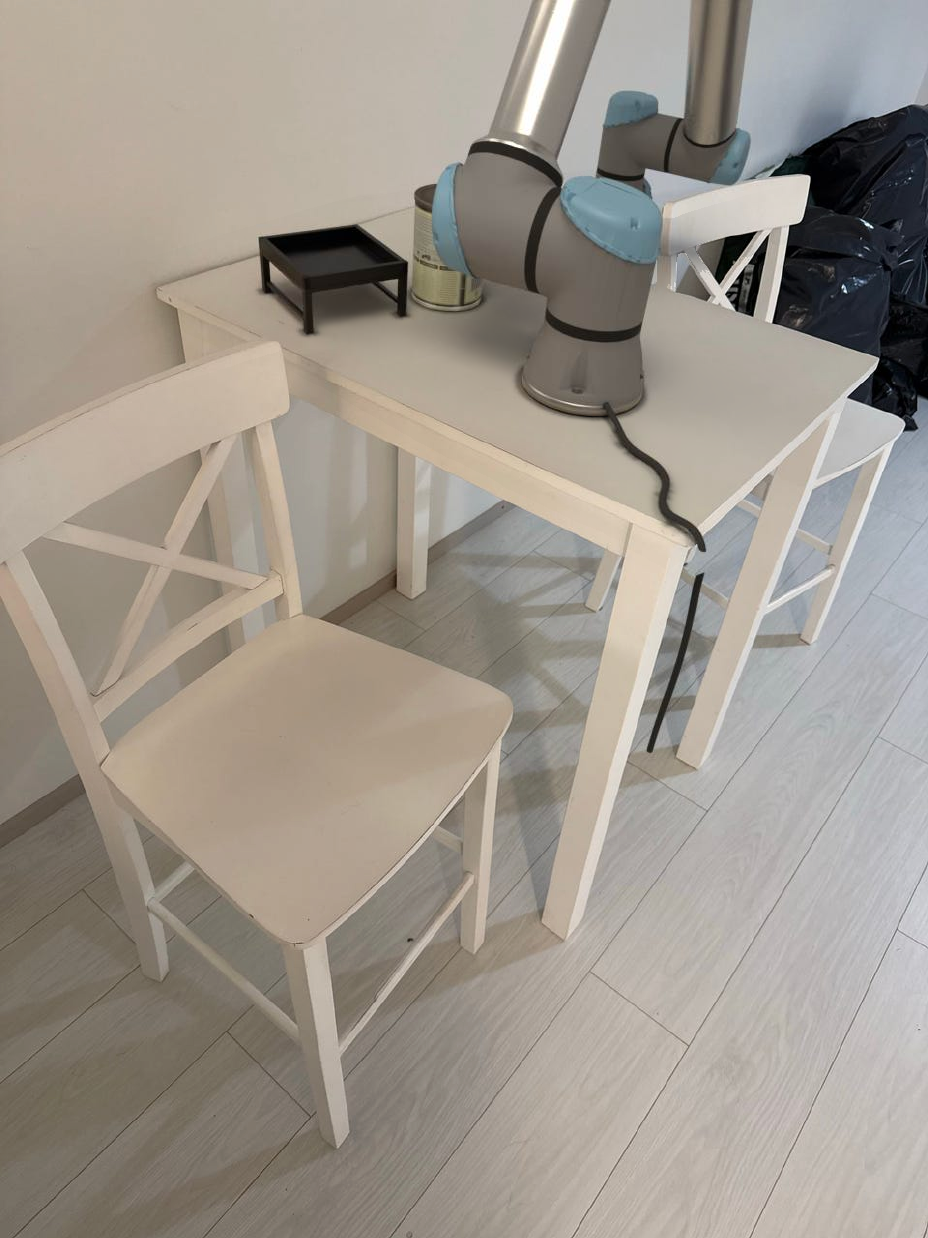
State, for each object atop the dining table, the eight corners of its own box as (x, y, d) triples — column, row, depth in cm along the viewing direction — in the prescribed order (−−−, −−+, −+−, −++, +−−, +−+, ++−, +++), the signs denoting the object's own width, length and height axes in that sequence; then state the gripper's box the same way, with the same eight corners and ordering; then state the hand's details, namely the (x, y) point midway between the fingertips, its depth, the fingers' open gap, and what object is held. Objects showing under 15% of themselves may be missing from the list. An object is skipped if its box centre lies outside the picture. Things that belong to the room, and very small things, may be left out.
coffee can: (415, 279, 136) (419, 178, 126) (484, 287, 135) (493, 187, 126) (405, 307, 128) (409, 202, 118) (477, 315, 128) (487, 211, 118)
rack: (406, 315, 126) (408, 261, 121) (306, 334, 119) (304, 277, 114) (357, 275, 135) (357, 223, 130) (262, 290, 128) (258, 236, 123)
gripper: (629, 265, 136) (529, 296, 125) (514, 214, 149) (415, 237, 138) (639, 213, 131) (536, 240, 120) (520, 165, 144) (417, 185, 133)
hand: (471, 239), depth 129 cm, fingers open, 13 cm apart
